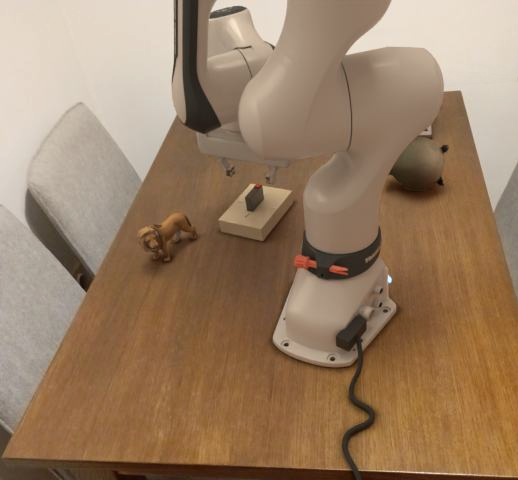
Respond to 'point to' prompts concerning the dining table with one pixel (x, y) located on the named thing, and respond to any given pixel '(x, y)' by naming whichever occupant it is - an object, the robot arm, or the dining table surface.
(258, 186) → the thumbturn
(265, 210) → the lock plate
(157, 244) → the lion figurine
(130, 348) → the dining table surface
